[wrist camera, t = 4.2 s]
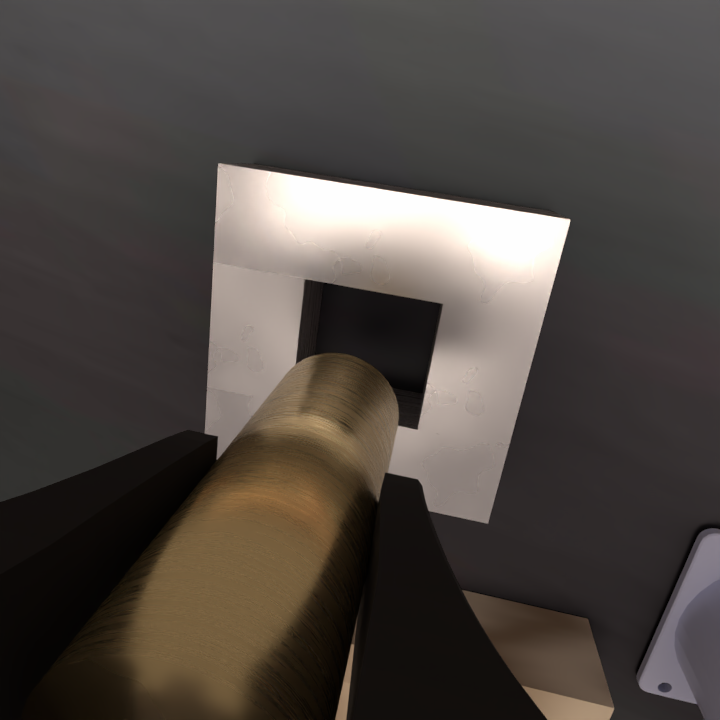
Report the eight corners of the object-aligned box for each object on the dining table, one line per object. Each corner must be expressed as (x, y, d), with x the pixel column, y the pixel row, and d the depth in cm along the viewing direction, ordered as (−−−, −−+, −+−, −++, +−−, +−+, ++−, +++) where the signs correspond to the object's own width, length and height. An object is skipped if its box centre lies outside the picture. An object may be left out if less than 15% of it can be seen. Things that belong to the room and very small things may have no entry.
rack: (587, 618, 23) (614, 708, 19) (532, 765, 26) (545, 866, 22) (109, 508, 25) (48, 570, 21) (112, 657, 28) (60, 733, 24)
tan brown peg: (409, 366, 13) (334, 707, 5) (387, 479, 14) (297, 911, 6) (281, 341, 14) (8, 622, 5) (270, 453, 15) (29, 832, 6)
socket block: (551, 211, 18) (570, 219, 15) (483, 476, 21) (487, 523, 18) (253, 163, 19) (218, 163, 16) (234, 424, 22) (203, 462, 19)
